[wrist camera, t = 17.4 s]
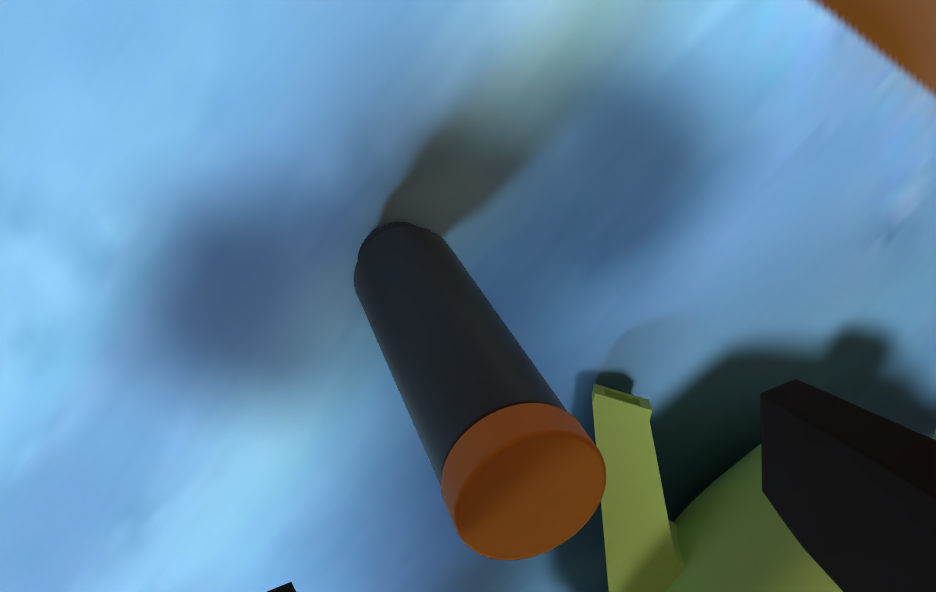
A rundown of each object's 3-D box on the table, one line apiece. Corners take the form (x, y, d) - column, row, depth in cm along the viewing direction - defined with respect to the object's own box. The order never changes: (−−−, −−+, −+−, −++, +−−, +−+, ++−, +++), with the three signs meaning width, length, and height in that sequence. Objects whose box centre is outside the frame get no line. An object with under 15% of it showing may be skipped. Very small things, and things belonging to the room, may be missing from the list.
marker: (448, 272, 20) (616, 525, 13) (354, 305, 20) (473, 585, 13) (425, 185, 19) (599, 409, 12) (325, 218, 19) (438, 472, 11)
